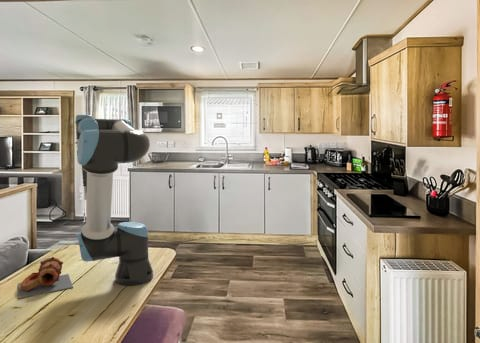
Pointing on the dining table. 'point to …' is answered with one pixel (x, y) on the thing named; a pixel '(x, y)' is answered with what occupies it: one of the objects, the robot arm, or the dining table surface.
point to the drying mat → (46, 287)
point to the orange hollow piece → (44, 274)
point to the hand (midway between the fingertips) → (87, 199)
